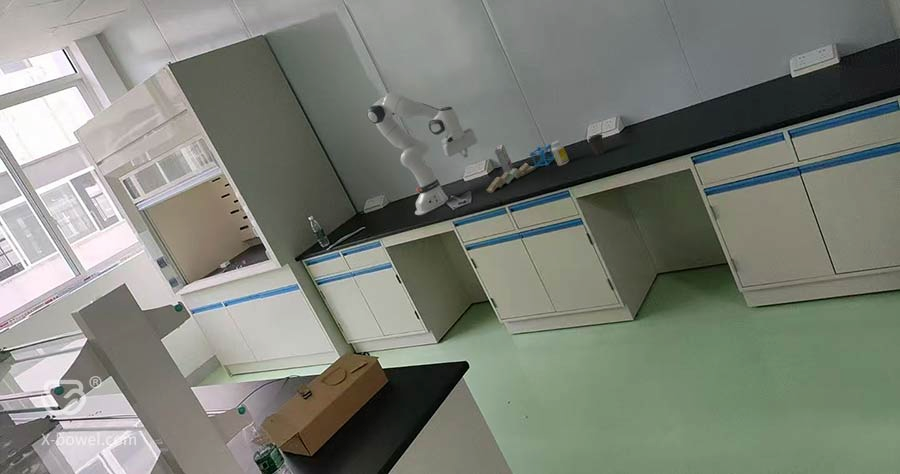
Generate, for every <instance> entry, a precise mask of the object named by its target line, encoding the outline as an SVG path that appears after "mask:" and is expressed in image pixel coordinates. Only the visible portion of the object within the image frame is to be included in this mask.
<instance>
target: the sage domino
mask: <svg viewBox="0 0 900 474" xmlns="http://www.w3.org/2000/svg"><path fill="white" fill-rule="evenodd" d="M518 169H519V168H516V167H515V168H514V167H513V169H512V170H511V171H510V172H509V173H510V174H511V176H510V177H509V178H508V179H507V181H506V182H505V183H504V184H505V185H506V184H507V185H508V184H510V183H511V181H512V180H513V179H514V178H515V177H514V176H515V175H516V174H517V173H518V172H519V170H518ZM504 184H503V185H504Z"/></svg>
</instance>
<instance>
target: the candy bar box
mask: <svg viewBox="0 0 900 474" xmlns="http://www.w3.org/2000/svg"><path fill="white" fill-rule="evenodd" d="M494 153H495V155H496V157H497V160H498V163H499V164H500V166H501V168H502V170H503V174H504V173H505V172H510V171H511V170H512V169H513V168H514V166H513V164H512V161H511V159H510V156H509V154H508V151H507V150H506V147H505V145H504V143H502V144H500V145H497V146H496V147H495V150H494Z"/></svg>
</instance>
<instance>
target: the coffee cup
mask: <svg viewBox="0 0 900 474" xmlns="http://www.w3.org/2000/svg"><path fill="white" fill-rule="evenodd" d="M587 142H589V144H590V146H591V148H592V150H593V152H594V154H595V156H596V155H598V156H600V155H599V154H601V155H603V154H602V153H603V152H605V151H606V147H605V144H604V143H605V142H604V139H603V135H602V134H601V133H600V134H595V135H593V136H591V137H590V138H588V139H587ZM605 153H606V152H605Z"/></svg>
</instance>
